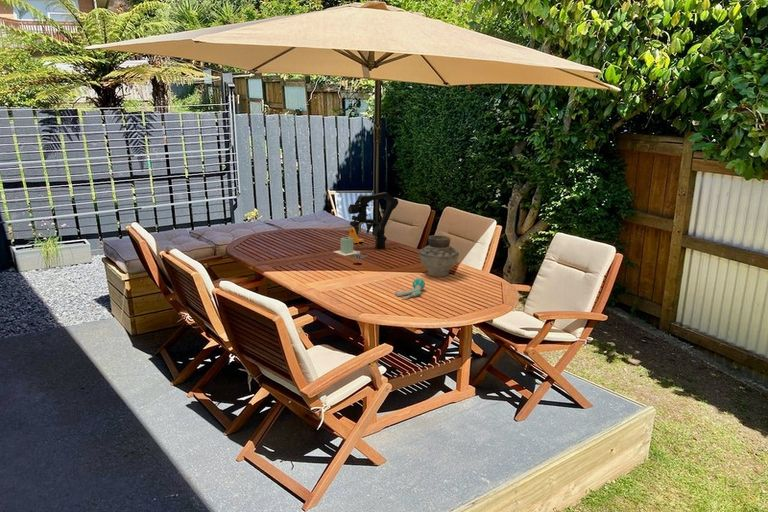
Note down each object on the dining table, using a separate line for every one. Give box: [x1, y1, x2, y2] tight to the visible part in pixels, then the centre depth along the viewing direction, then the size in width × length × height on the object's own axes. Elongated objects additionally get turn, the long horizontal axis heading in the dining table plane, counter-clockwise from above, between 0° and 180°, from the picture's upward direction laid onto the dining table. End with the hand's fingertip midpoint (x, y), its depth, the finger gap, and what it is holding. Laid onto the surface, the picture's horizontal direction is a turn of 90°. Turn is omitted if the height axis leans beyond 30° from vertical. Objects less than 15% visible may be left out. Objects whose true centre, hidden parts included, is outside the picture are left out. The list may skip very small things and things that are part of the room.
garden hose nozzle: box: [394, 277, 426, 300], centre depth 334 cm, size 7×18×20 cm
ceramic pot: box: [418, 234, 460, 278], centre depth 370 cm, size 25×25×24 cm
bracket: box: [348, 227, 364, 244], centre depth 452 cm, size 11×7×12 cm, turn 38°
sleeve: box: [340, 236, 354, 254], centre depth 417 cm, size 6×6×10 cm
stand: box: [349, 250, 369, 260], centre depth 407 cm, size 10×10×5 cm
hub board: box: [332, 249, 358, 256], centre depth 418 cm, size 14×14×5 cm
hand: (362, 234), depth 427 cm, fingers open, 9 cm apart
